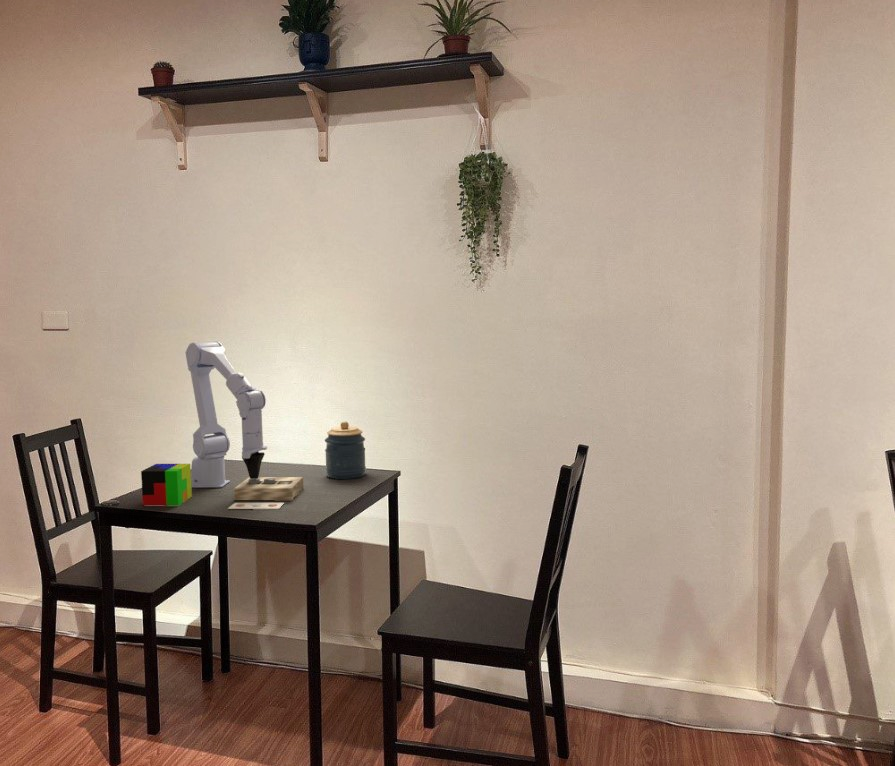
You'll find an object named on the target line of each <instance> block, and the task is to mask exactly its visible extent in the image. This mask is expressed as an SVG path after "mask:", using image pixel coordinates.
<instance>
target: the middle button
mask: <svg viewBox="0 0 895 766" xmlns="http://www.w3.org/2000/svg"><path fill="white" fill-rule="evenodd" d="M264 484H275V478H266V479H264Z"/></svg>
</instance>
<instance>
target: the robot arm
mask: <svg viewBox="0 0 895 766" xmlns="http://www.w3.org/2000/svg"><path fill="white" fill-rule="evenodd" d="M185 358H186V364H187V369H188V371H189V372H190V376H191V383H192V388H193V395H194V399H195V405H196V412H197V418H198V423H199V427H198V428H197V429H196V430H195V431H194V432H193V434H192V437H193V438H192V439H193V441H192V449H193V453H194V454H195V455H196V456H194V457H193V459H192V460H191V464H190V467H191V488H224V486H226V485H227V484H228V483H229V482H231V481H230V480H229V479H226V465H225V463H226V462H225V456H227V453H228V452H229V450H230V447H231V443H230V442H231V441H230V438H229V436H228V434H227V429H226V428H225V427H223V426H222V425H220V424H219V423H218V418H217V413H216V406H215V401H214V394H213V390H212V383H211V378H210V373H211V371H212V370H214V369H216V371H218V372H219V373H220V375H221V376H222V377H223V378H224V379H225V380H226V382H225V385H226V388H228V390H229V391H230V392H231V394H232V395H233V396H234V398H235V399H236V402H235V403H236V406H237V409H238V411H239V417H240V418H241V435H242V448H241V458H242V461H243V462H244V463H245V466H246V469H247V472H248V476H249V477H250V479H257V478H258V477H259V476H260V471H261V466H262V461H263V459H264V457H265V454H266V453H265V452H262V451H266V450H268V446H264V436H263V433H264V432H263V415H262V414H263V413H262V412H263V411H262V410H263V409H265V406H266V401H267V399H266V396H265V395H266V394H264V392H263V390H261V389H257V388H255V387H253V386H252V384H251V383H250V382H249V380H248V379H247V378H246V376H245V375H244V374H243V373H241V372H237V371H236V370H235V368H234V367H233V366H232V363H230V361H229V360H228V358H227V357H226V348H225V347H224V346H223V344H222V343H221V342H220V341H210V342H191V343H189V344H188V346H187V348H186V351H185ZM249 477H248V478H249Z"/></svg>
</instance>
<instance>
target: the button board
mask: <svg viewBox="0 0 895 766" xmlns="http://www.w3.org/2000/svg"><path fill="white" fill-rule="evenodd" d="M258 478H259V479H260V484H249V479H250V477H247V478H246V479H245V480H243V481H242V482H240V483H239V484H238V485H237V486H235V487H234V488H233V497H234V500H275V501H293V500H294V499H295V498H296V497H297V496H298V495H299V494H300V493H301V492H302V491H303V490H304V477H303V476H298V477H297V476H292V477H289V476H287V477H286V476H282V477H281V476H278V477H277V476H275V477H272V476H270V477H269V476H268V477H265V476H263V477H262V476H261V477H258ZM266 478H275V484H264V479H266ZM282 482H290V484H279V483H282ZM302 489H303V490H302ZM301 490H302V491H301ZM300 491H301V492H300ZM299 492H300V493H299ZM298 493H299V494H298ZM297 494H298V495H297ZM296 495H297V496H296ZM295 496H296V497H295ZM294 497H295V498H294ZM293 498H294V499H293Z"/></svg>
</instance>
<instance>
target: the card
mask: <svg viewBox="0 0 895 766" xmlns="http://www.w3.org/2000/svg"><path fill="white" fill-rule="evenodd" d="M284 503H285V502H234V503H232V504H231V505H230V506H229V507H228V508H227V510H228V509H253V510H280V509H281V508H282V507H283V506H284V505H285V504H284ZM283 504H284V505H283ZM282 505H283V506H282ZM281 506H282V507H281Z"/></svg>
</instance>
